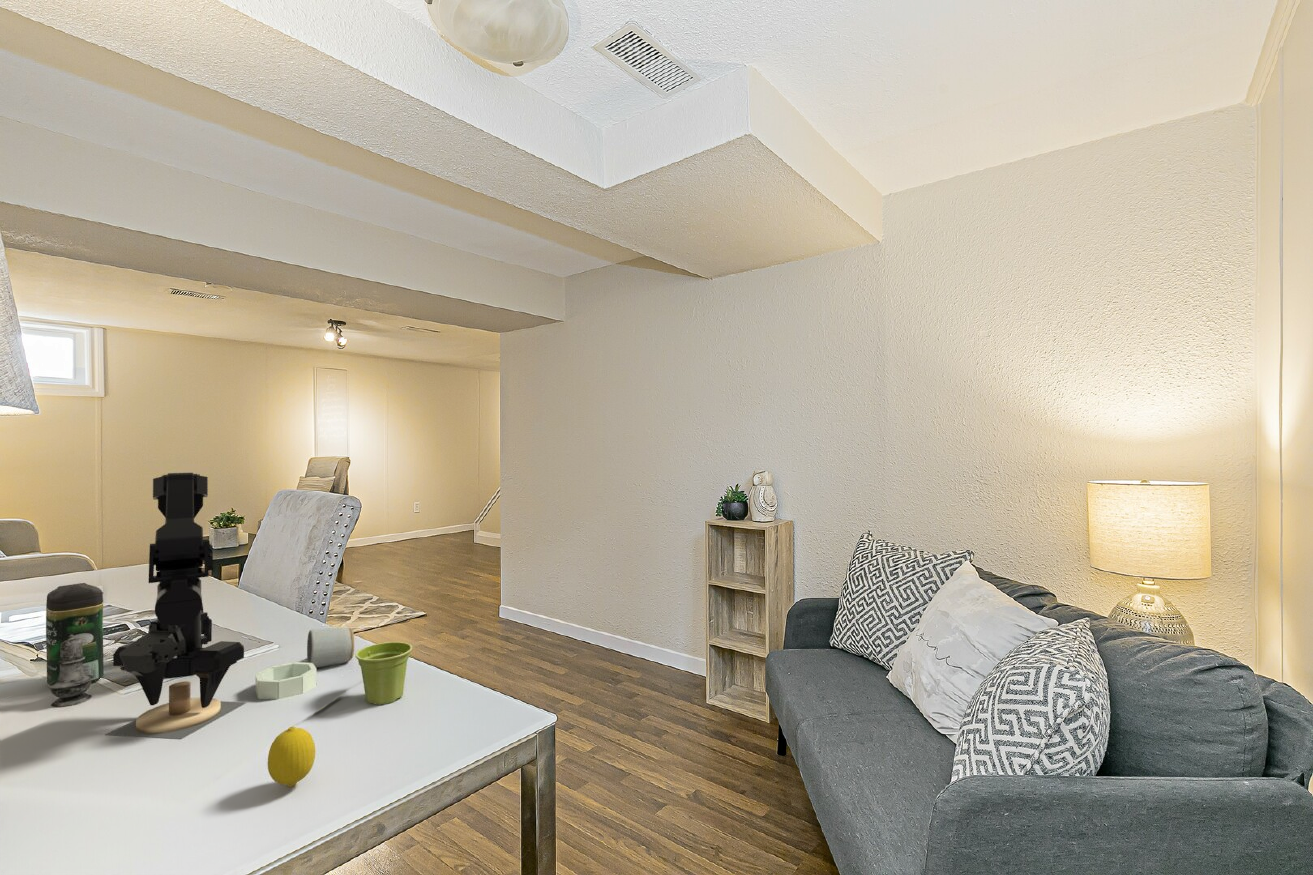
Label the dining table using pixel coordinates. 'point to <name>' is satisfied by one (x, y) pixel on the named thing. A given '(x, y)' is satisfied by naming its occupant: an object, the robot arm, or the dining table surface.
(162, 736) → the mat
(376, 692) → the plant pot
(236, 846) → the dining table surface
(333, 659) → the ceramic mug
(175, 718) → the lid
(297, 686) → the bowl
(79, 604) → the coffee jar
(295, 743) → the lemon
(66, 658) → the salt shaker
